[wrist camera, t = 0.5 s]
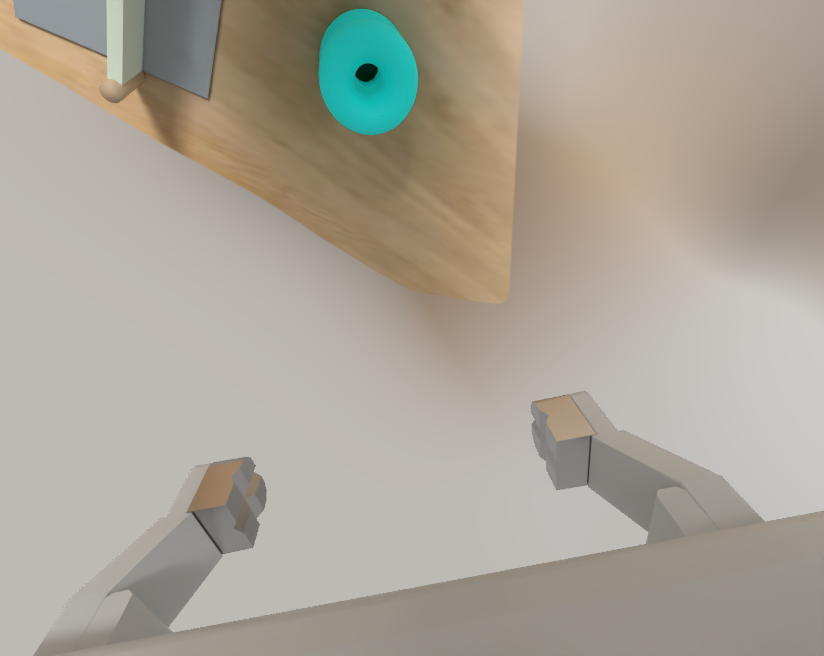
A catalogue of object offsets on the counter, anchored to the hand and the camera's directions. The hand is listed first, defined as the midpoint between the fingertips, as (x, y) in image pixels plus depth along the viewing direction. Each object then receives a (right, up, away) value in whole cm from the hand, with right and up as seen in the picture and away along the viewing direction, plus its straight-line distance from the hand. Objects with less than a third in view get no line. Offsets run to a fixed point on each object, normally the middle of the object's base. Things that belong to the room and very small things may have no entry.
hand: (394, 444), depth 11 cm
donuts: (-5, +34, +34) cm, 49 cm away
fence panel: (-28, +33, +29) cm, 52 cm away
